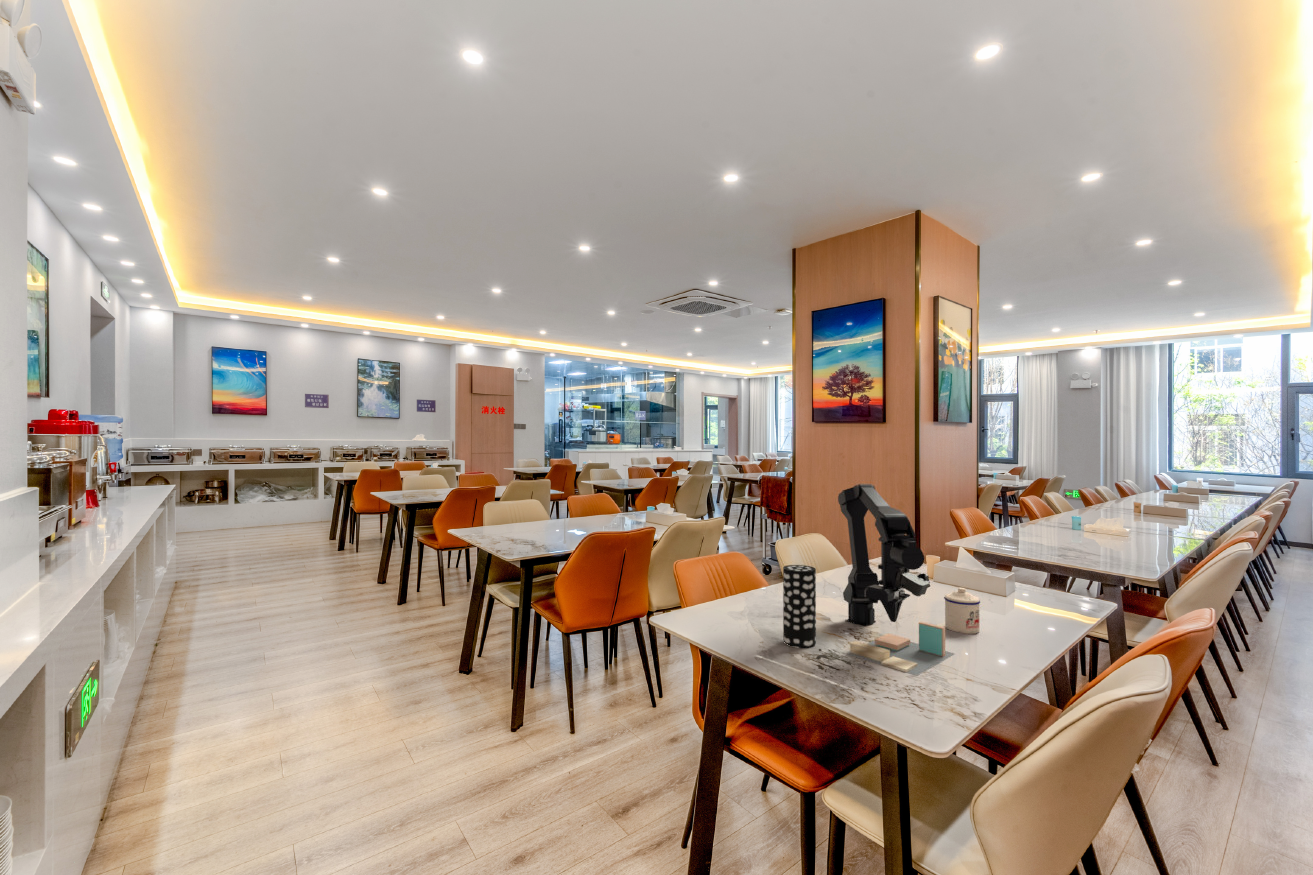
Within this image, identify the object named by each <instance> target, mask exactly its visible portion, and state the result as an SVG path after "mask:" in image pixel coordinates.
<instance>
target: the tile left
mask: <svg viewBox="0 0 1313 875" xmlns="http://www.w3.org/2000/svg"><path fill="white" fill-rule="evenodd" d="M874 640H875V644H877V646H880V647H884V648H887V649H891V650H894V651H898V650H900V649H902V648H904V647H907V646H909V644H910V642H911V639H910V638H906V637H903V636H899V635H896V634H892V633H886V634H884V635H881V636H879V637H877V638H874Z"/></svg>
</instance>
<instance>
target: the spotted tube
mask: <svg viewBox="0 0 1313 875" xmlns="http://www.w3.org/2000/svg"><path fill="white" fill-rule="evenodd" d="M782 570H783V572H782V577H783V578H782V585H783V587H782V588H783V591H782V595H783V596H782V598H783V600H782V601H783V602H782V603H783V606H782V608H783V609H782V610H783V613H782V614H783V616H782V618H783V619H782V620H783V621H782V622H783V627H782V628H783V630H782V631H783V633H782V635H783V640H784V642H785V643H786V644H788V645H790V646H794V647H798V648H797V649H812V648H814V647H816V645H817V614H816V613H817V597H816V596H817V593H816V591H817V590H816V588H817V587H816V586H817V584H816V583H817V581H816V580H817V578H816V577H817V574H816V573H817V571H816V570H817V569H816V567H814V566H810V565H804V564H789V565H784V566H783V568H782ZM783 640H782V641H783ZM786 644H785V645H786ZM788 645H787V646H788ZM790 646H789V647H790ZM794 647H793V648H794Z"/></svg>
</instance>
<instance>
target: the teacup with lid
mask: <svg viewBox="0 0 1313 875" xmlns="http://www.w3.org/2000/svg"><path fill="white" fill-rule="evenodd" d="M979 598H980V597H977V596H975V595H972V594H971V593H970V592H967V589H966V588H964V587H958V588H957V590H956V591H955V590H954V591H953V592H951V593H945V594H944V597H943V600H944V617H945V618H944V622H945V623H944V627H945V629H947V630H949V631H952V632H956V633H960V634H966V635H972V634H973V635H974V634H978V633H979V632H980V604H981V601H980V600H981V599H979Z"/></svg>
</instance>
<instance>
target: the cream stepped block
mask: <svg viewBox="0 0 1313 875" xmlns="http://www.w3.org/2000/svg"><path fill="white" fill-rule="evenodd" d="M849 646H850V647H849V651H850V653H854V654H857V655H860V656H863V657H867V658H870V659H873V660H877V661H880V662H881V665H880V666H883V665H885V666H884V667H886V666H888V667H887V668H889V667H891V668H890V669H893V668H894V669H893V670H896V669H898V670H897V671H899V670H901V671H900V672H902V671H904V672H903V673H905V672H907V671H909V670H911V669H913V668H915V667H917V663H914V662H911V661H907V660H904V659H900V658H897V657H894V656H892V657H890V650H887V649H884V648H880V647H876V646H873V645H869V644H868V643H865V642H862V641H858V640H854V641H851V642H850V643H849Z"/></svg>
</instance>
